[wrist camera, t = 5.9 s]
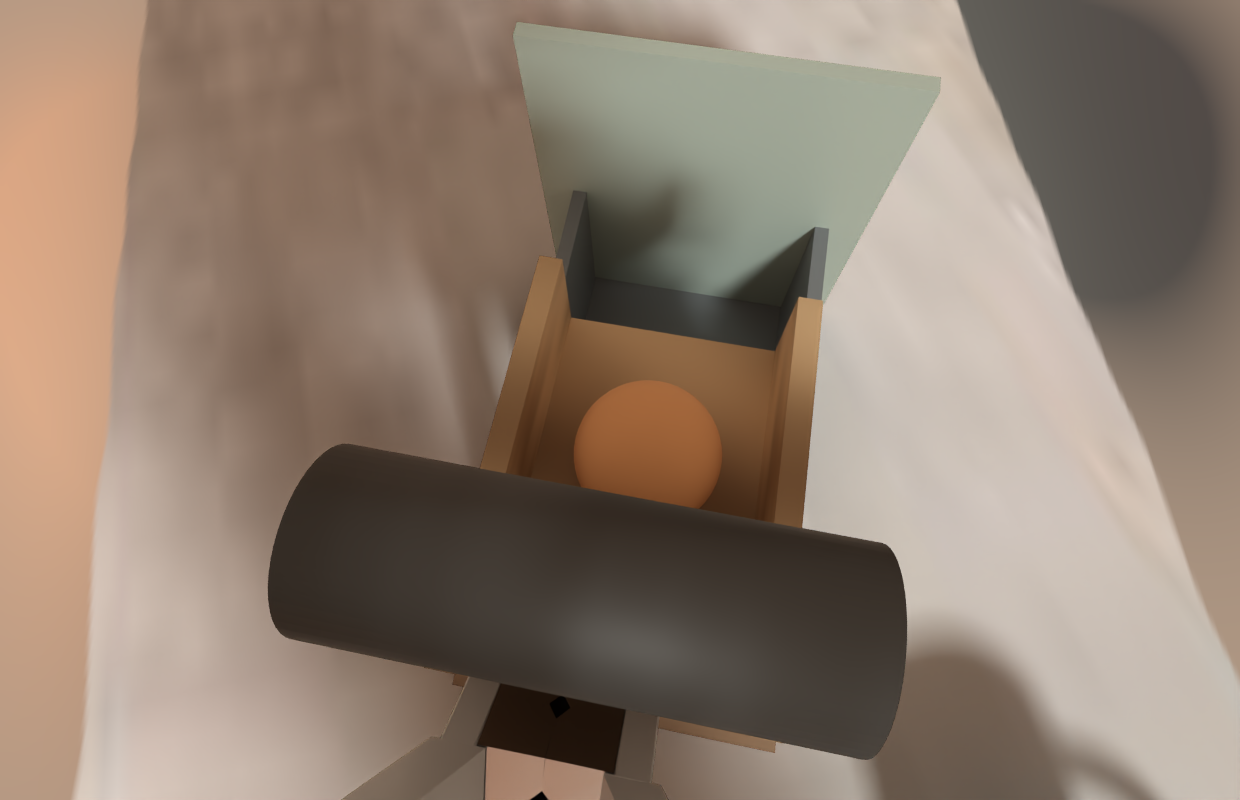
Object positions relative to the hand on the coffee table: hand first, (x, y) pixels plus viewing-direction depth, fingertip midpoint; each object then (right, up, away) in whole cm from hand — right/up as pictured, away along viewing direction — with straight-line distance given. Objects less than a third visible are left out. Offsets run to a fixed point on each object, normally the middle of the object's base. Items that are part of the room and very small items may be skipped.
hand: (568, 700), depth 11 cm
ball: (+1, +4, +6) cm, 7 cm away
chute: (+1, +1, +9) cm, 9 cm away
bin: (+3, +6, +25) cm, 26 cm away
